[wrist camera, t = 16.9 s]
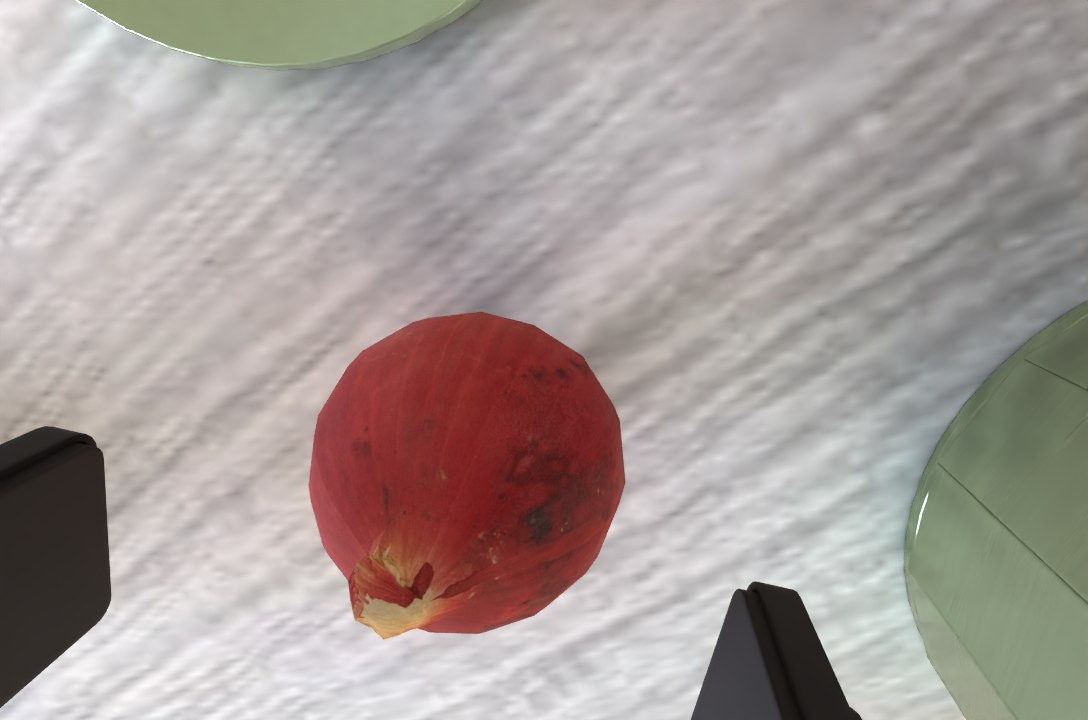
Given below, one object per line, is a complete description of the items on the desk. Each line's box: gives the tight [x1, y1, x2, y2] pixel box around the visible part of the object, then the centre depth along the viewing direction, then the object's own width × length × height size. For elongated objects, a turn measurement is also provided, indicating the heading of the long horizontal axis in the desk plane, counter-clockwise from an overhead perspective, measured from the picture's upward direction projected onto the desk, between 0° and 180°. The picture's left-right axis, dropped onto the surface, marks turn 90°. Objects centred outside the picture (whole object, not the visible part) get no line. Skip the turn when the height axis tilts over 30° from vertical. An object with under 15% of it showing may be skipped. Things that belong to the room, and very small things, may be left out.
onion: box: [309, 312, 625, 639], centre depth 11 cm, size 6×6×8 cm
